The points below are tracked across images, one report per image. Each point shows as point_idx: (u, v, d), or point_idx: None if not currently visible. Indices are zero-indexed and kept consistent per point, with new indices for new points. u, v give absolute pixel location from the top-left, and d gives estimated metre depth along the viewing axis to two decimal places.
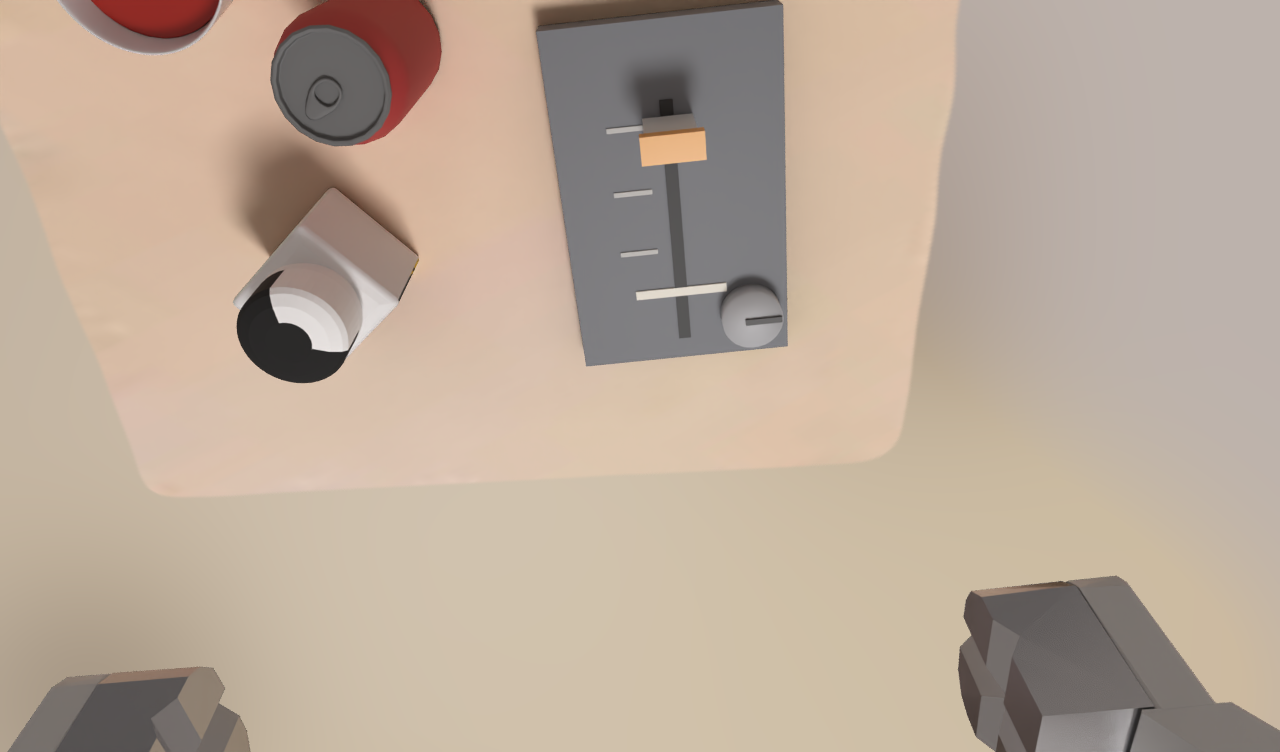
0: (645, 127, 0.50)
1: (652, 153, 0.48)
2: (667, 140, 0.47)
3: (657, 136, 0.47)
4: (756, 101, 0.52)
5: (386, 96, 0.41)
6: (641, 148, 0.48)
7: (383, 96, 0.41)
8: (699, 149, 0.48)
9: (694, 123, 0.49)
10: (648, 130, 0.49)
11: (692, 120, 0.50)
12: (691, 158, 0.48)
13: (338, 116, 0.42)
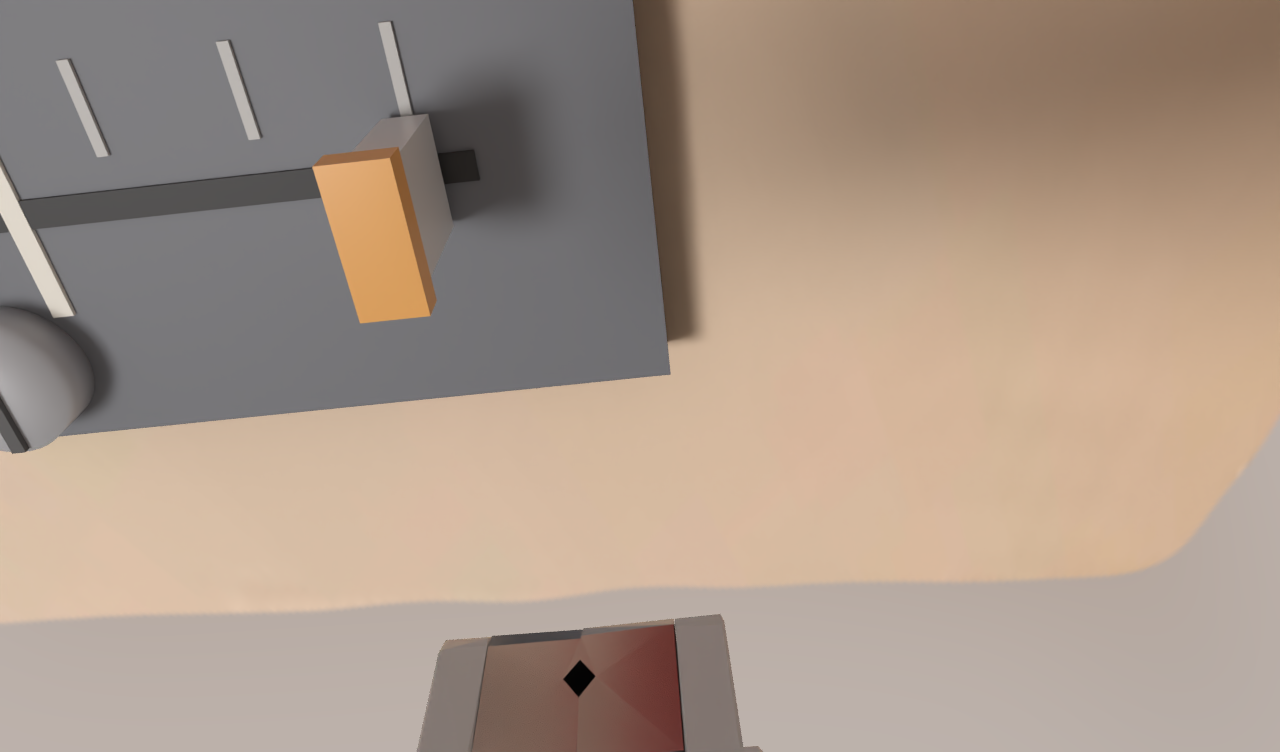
0: (412, 141, 0.20)
1: (353, 193, 0.18)
2: (393, 230, 0.18)
3: (399, 204, 0.18)
4: (490, 344, 0.26)
5: None
6: (362, 164, 0.18)
7: None
8: (383, 307, 0.19)
9: (437, 257, 0.21)
10: (408, 156, 0.20)
11: (442, 244, 0.22)
12: (357, 288, 0.19)
13: None
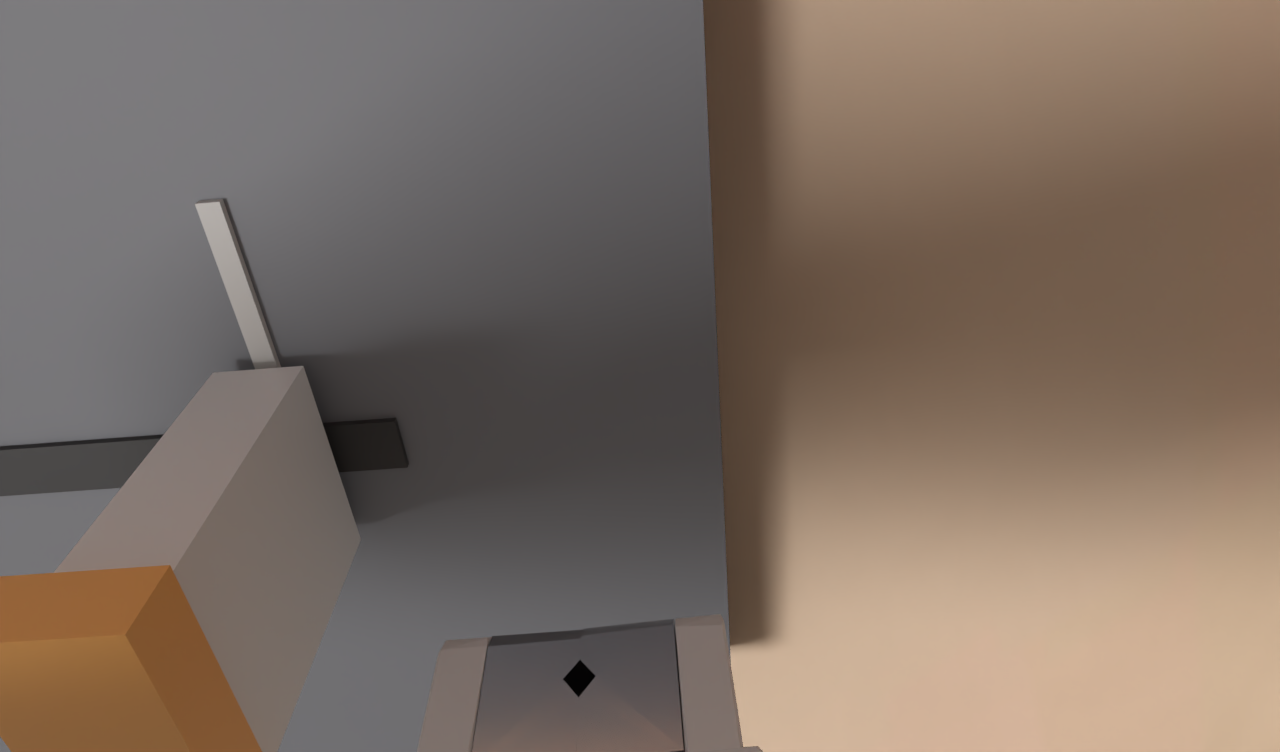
0: (247, 469, 0.10)
1: (48, 693, 0.07)
2: None
3: (164, 714, 0.08)
4: None
5: None
6: (58, 644, 0.07)
7: None
8: None
9: (309, 660, 0.11)
10: (225, 522, 0.09)
11: (325, 614, 0.11)
12: None
13: None
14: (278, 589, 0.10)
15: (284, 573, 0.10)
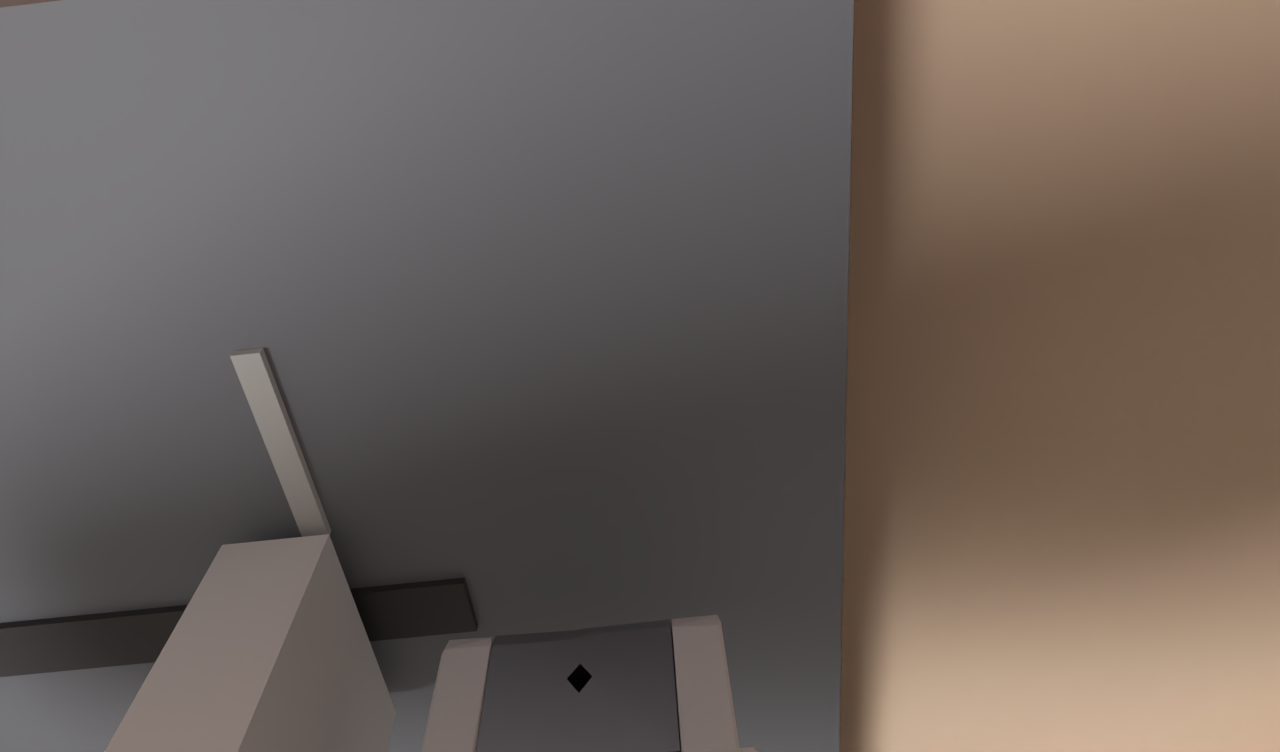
0: (269, 694, 0.08)
1: None
2: None
3: None
4: None
5: None
6: None
7: None
8: None
9: None
10: None
11: None
12: None
13: None
14: None
15: None
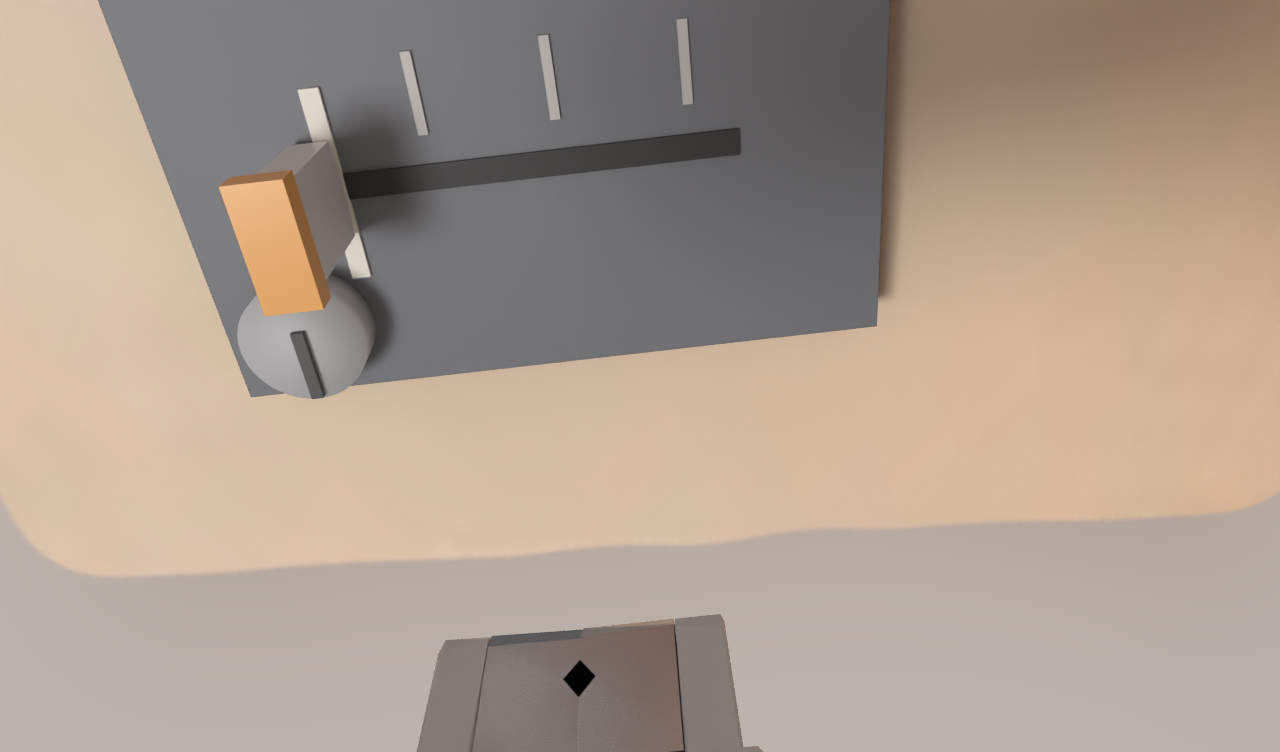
0: (310, 164, 0.24)
1: (253, 208, 0.22)
2: (289, 238, 0.22)
3: (292, 217, 0.22)
4: (726, 300, 0.29)
5: None
6: (259, 184, 0.22)
7: None
8: (283, 302, 0.23)
9: (335, 261, 0.25)
10: (304, 177, 0.24)
11: (341, 250, 0.26)
12: (260, 287, 0.23)
13: None
14: (323, 221, 0.25)
15: (325, 217, 0.25)
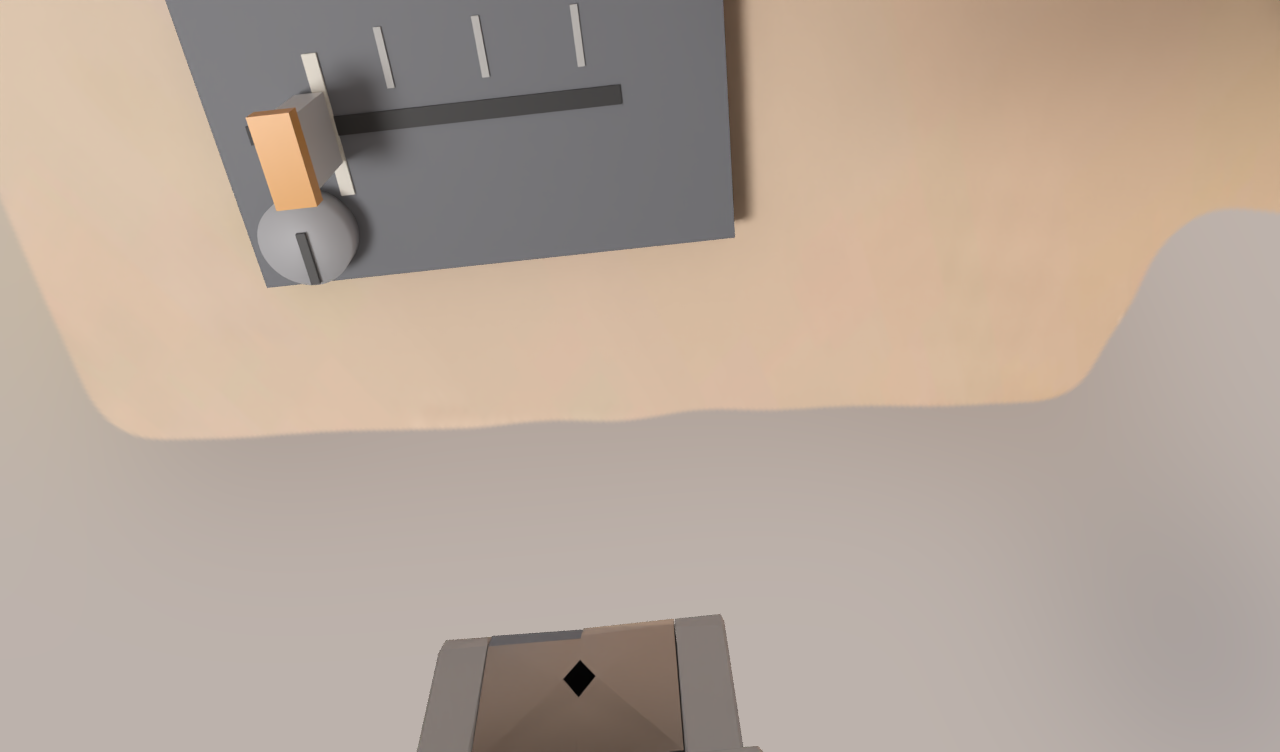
0: (309, 106, 0.34)
1: (269, 133, 0.32)
2: (293, 154, 0.33)
3: (295, 139, 0.32)
4: (619, 215, 0.39)
5: None
6: (273, 116, 0.32)
7: None
8: (289, 201, 0.33)
9: (327, 177, 0.36)
10: (304, 115, 0.34)
11: (331, 171, 0.36)
12: (273, 189, 0.33)
13: None
14: (318, 147, 0.35)
15: (319, 144, 0.35)
